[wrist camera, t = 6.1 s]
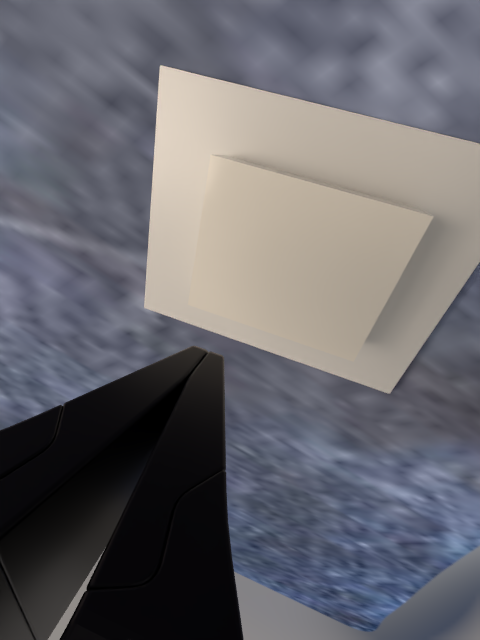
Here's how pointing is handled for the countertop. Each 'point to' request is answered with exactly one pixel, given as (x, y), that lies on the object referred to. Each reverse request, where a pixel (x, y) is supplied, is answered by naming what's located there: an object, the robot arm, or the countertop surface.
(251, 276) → the tile
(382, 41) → the countertop surface
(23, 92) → the countertop surface
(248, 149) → the beige board
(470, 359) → the countertop surface
